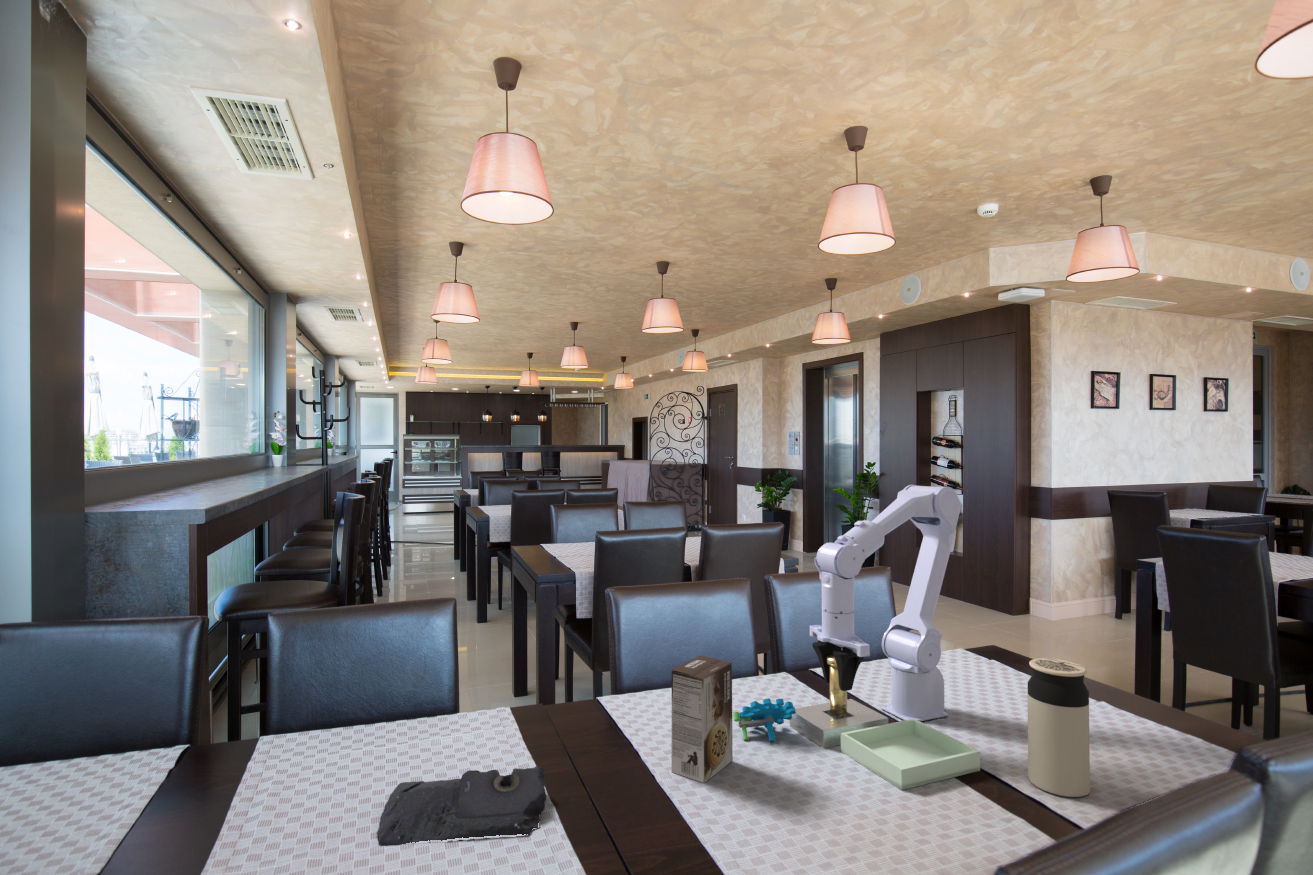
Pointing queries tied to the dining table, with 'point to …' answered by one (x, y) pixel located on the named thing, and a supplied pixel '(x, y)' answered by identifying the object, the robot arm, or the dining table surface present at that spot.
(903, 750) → the parts tray
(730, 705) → the coffee box
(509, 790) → the dark slate chunk
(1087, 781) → the travel mug
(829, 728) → the pin bracket
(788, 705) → the gear
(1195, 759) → the dining table surface
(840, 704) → the pin
